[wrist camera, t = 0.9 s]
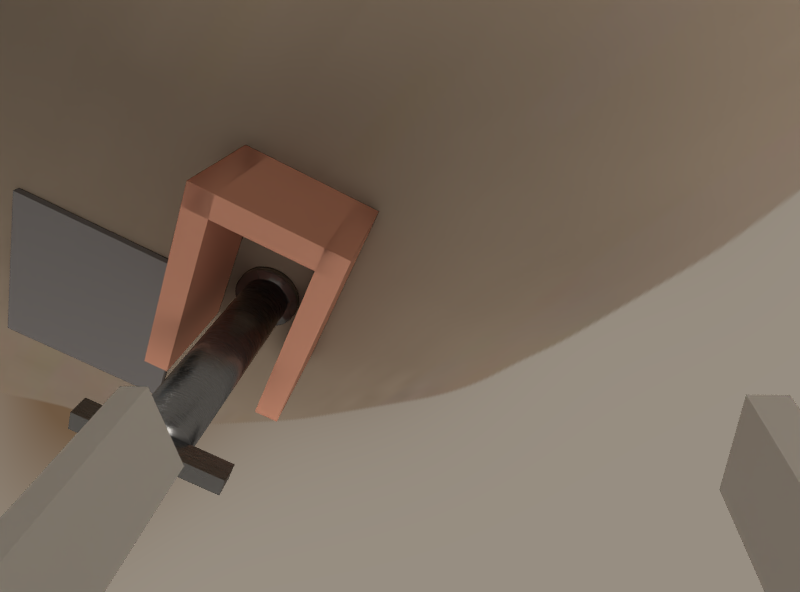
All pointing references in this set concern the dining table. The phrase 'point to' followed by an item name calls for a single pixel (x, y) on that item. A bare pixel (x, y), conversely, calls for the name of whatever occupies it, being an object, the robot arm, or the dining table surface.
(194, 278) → the c link
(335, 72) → the dining table surface
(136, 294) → the mat
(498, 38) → the dining table surface
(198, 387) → the stand
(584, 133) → the dining table surface
